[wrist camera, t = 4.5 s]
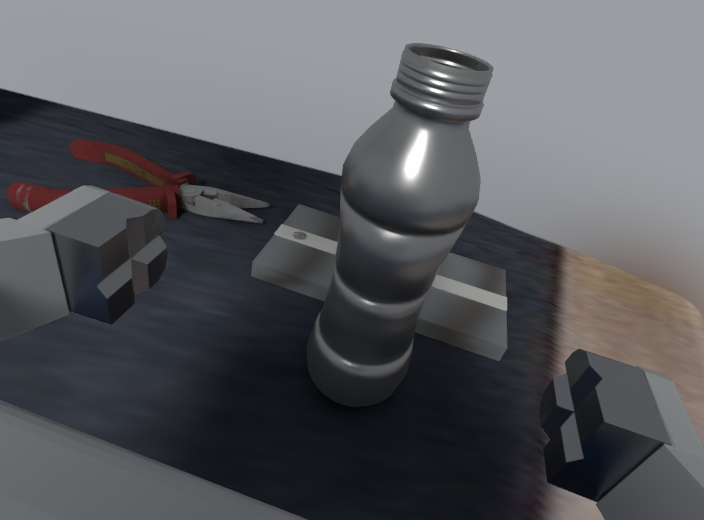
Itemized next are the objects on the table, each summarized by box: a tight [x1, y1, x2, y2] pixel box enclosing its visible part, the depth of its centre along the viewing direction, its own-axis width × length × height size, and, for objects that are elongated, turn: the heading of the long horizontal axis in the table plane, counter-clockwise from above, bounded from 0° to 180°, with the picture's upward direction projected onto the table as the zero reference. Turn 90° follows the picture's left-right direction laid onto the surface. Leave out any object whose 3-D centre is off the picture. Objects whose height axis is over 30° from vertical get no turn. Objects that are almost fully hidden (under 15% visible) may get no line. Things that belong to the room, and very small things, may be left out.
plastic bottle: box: [307, 43, 493, 407], centre depth 23 cm, size 6×7×20 cm
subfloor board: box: [251, 204, 507, 361], centre depth 37 cm, size 20×10×2 cm, turn 74°
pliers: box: [7, 139, 270, 224], centre depth 40 cm, size 12×20×3 cm, turn 87°
